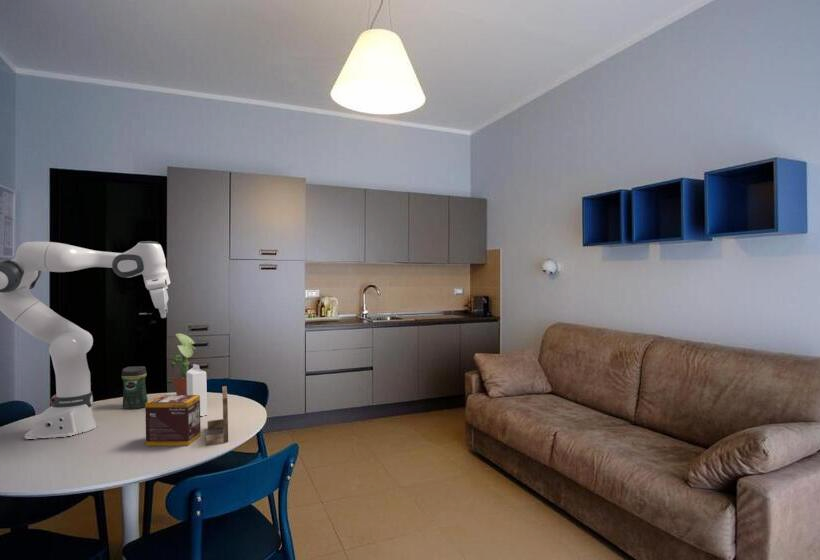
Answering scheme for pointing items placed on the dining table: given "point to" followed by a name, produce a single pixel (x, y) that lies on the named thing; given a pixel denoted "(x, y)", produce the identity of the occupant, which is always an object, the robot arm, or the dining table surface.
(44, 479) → the dining table surface
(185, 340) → the potted plant
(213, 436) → the display stand
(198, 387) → the milk
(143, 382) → the coffee jar
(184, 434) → the supplement box
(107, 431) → the dining table surface
